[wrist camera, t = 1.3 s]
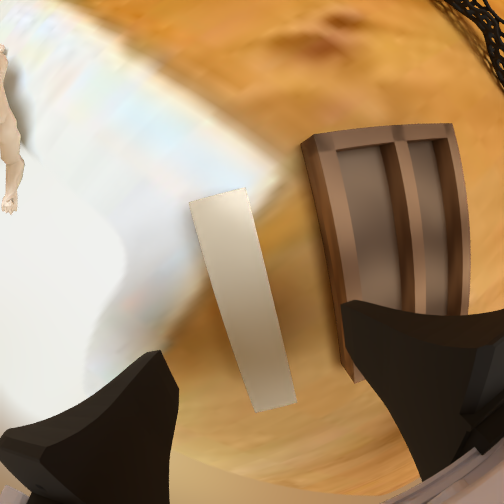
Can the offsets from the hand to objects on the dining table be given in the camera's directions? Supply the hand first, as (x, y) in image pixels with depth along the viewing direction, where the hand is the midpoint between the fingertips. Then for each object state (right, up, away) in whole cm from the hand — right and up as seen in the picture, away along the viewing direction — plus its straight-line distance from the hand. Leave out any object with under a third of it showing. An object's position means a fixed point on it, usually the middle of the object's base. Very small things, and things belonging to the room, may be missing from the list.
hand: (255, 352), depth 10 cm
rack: (+10, +4, +8) cm, 13 cm away
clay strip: (-1, +1, +8) cm, 8 cm away
